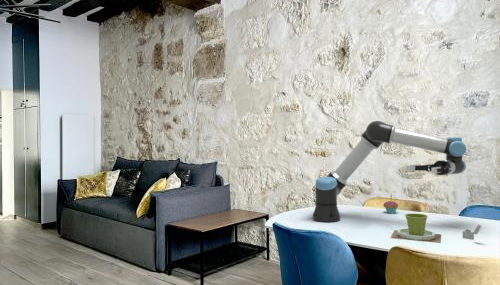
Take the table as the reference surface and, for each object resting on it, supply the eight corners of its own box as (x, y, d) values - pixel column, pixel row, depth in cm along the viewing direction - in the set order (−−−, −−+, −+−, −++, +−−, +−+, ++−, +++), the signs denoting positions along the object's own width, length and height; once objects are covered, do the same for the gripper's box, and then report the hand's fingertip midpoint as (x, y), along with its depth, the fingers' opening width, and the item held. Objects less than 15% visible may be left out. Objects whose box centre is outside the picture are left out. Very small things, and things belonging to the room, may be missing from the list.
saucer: (396, 238, 169) (396, 234, 169) (400, 230, 182) (400, 227, 182) (434, 242, 162) (434, 237, 162) (435, 234, 175) (435, 230, 175)
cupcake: (399, 214, 229) (399, 194, 229) (384, 213, 230) (384, 193, 230) (397, 211, 237) (396, 192, 237) (382, 211, 239) (382, 191, 239)
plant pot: (418, 238, 166) (418, 218, 166) (400, 233, 174) (400, 214, 174) (432, 235, 170) (432, 216, 170) (414, 231, 179) (414, 212, 178)
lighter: (462, 241, 168) (462, 223, 168) (463, 240, 170) (463, 222, 169) (481, 244, 164) (481, 225, 164) (481, 243, 165) (481, 224, 165)
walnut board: (390, 241, 170) (390, 237, 170) (394, 233, 184) (394, 230, 184) (440, 246, 160) (440, 243, 160) (441, 237, 175) (441, 234, 175)
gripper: (468, 176, 188) (443, 179, 177) (421, 173, 209) (396, 175, 197) (468, 161, 188) (443, 163, 176) (421, 159, 209) (396, 160, 197)
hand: (418, 169), depth 187 cm, fingers open, 13 cm apart
